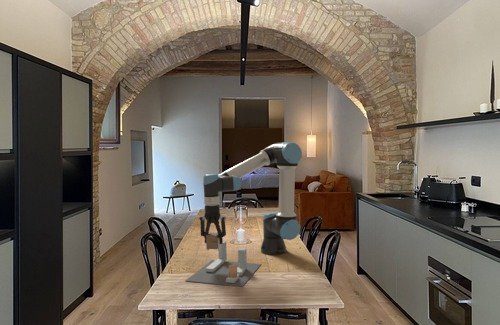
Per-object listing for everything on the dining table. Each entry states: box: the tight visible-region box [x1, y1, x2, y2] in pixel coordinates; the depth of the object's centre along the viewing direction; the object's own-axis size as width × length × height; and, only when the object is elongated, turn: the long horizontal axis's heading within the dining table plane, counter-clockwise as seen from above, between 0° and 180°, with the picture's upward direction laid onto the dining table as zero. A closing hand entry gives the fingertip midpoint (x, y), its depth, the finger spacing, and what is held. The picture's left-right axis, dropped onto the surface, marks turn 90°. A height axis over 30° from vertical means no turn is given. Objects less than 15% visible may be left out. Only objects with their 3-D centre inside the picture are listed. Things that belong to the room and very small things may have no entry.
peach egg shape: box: [229, 264, 237, 278], centre depth 173 cm, size 4×4×5 cm
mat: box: [185, 259, 262, 288], centre depth 185 cm, size 32×28×1 cm
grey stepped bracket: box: [206, 240, 228, 272], centre depth 194 cm, size 20×4×10 cm, turn 163°
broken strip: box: [226, 247, 248, 283], centre depth 179 cm, size 20×4×10 cm, turn 163°
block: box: [205, 231, 219, 250], centre depth 189 cm, size 6×6×7 cm
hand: (213, 249), depth 190 cm, fingers closed on block, 5 cm apart
